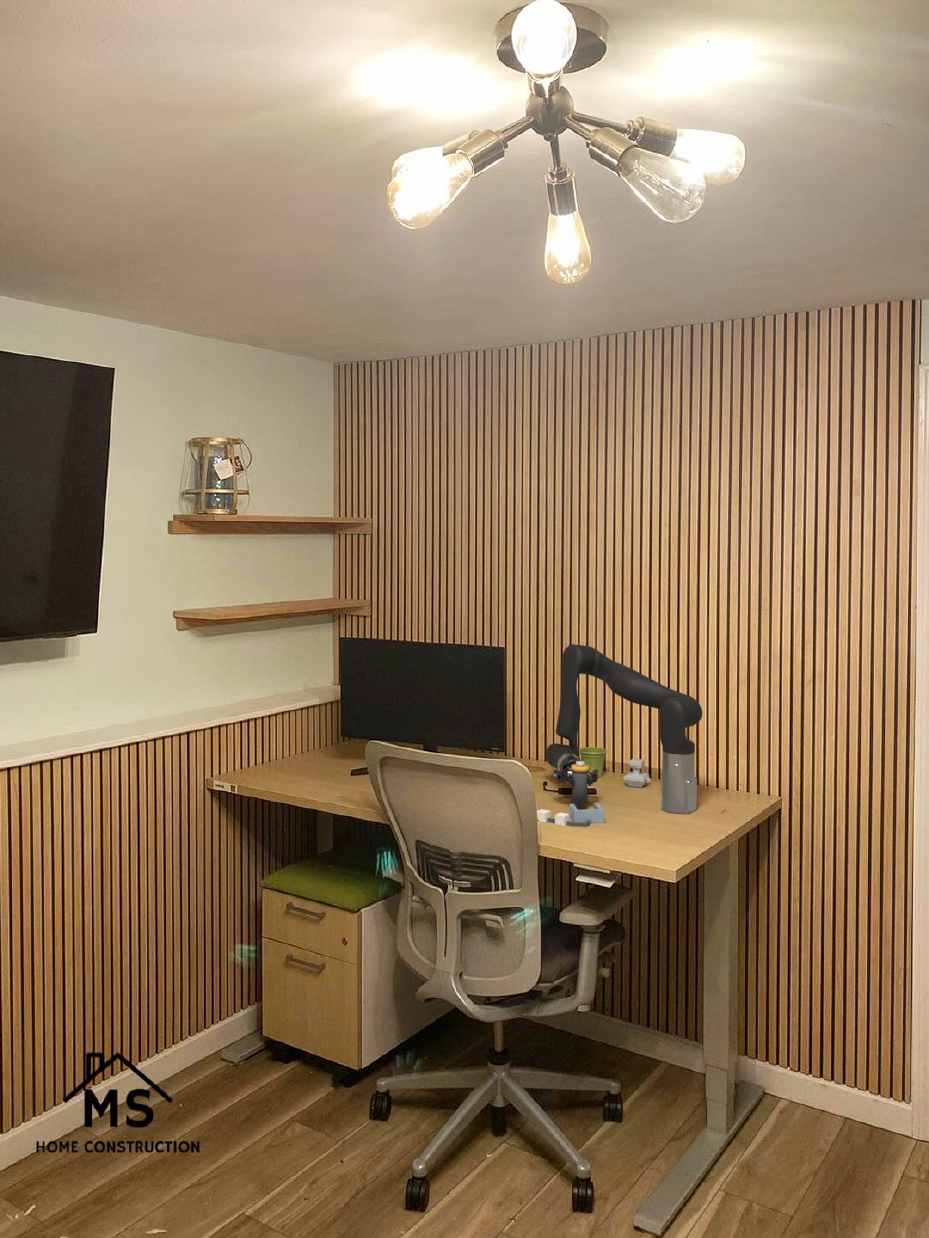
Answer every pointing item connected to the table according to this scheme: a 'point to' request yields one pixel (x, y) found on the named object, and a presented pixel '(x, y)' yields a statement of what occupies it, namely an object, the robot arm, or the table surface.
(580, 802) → the grey and orange bottle
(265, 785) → the table surface
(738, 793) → the table surface
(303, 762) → the table surface
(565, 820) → the routed cable
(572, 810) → the end holder
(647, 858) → the table surface
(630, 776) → the stamp
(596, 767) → the plant pot
